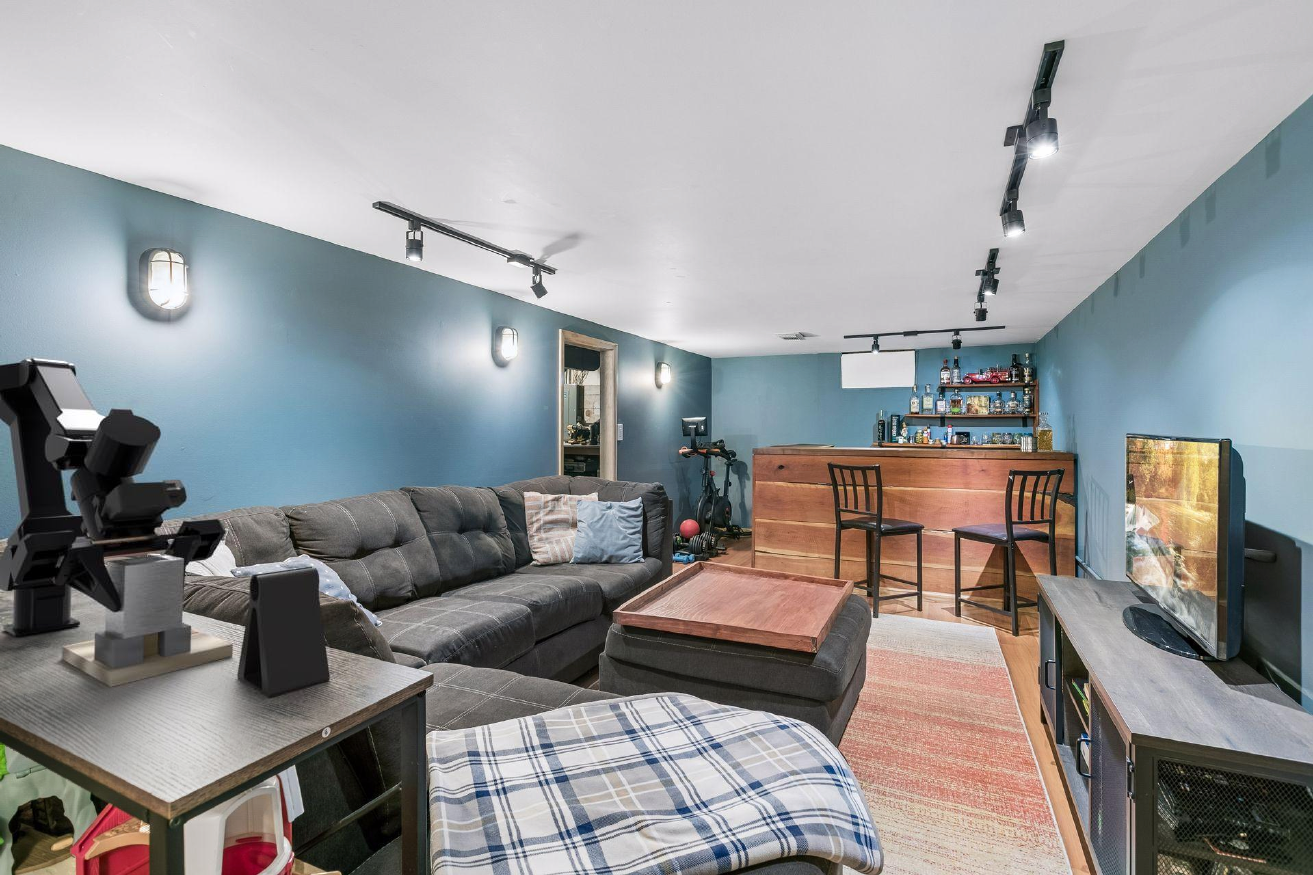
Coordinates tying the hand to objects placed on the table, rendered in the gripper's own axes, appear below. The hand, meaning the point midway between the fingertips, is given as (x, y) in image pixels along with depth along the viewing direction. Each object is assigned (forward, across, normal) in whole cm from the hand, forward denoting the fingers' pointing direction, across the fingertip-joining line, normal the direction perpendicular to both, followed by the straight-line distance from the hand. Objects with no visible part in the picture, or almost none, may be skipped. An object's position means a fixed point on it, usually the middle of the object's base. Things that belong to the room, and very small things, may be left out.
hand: (150, 604), depth 69 cm
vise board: (+2, +2, +9) cm, 9 cm away
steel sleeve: (+1, 0, +3) cm, 3 cm away
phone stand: (+17, +6, -6) cm, 19 cm away
